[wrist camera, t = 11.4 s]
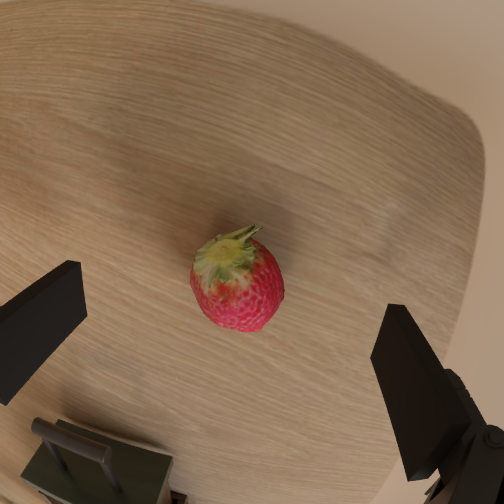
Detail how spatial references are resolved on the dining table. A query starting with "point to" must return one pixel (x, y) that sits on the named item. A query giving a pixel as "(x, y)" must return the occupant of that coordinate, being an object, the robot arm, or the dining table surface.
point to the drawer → (94, 468)
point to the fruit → (237, 281)
